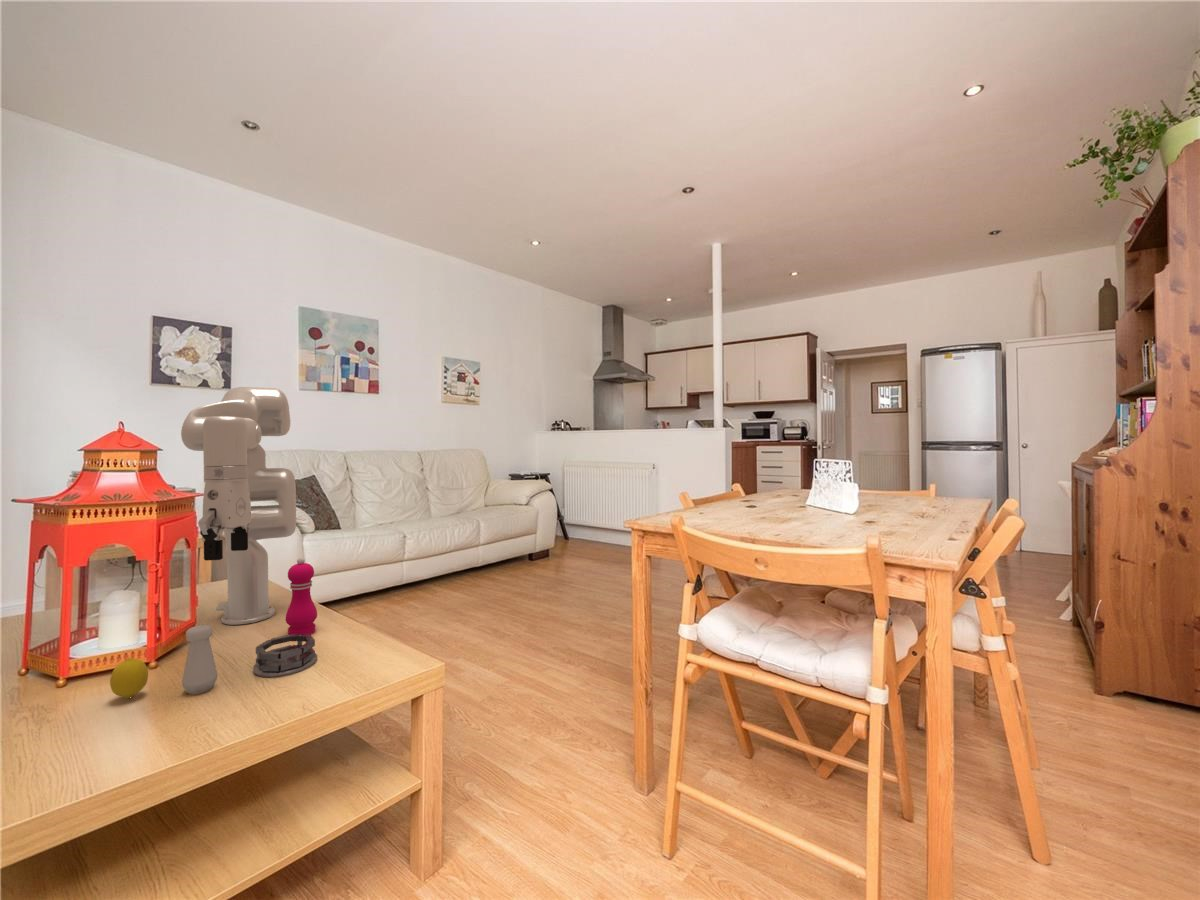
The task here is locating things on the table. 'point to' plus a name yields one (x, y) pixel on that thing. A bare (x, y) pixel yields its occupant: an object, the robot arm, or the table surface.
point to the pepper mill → (301, 599)
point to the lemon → (129, 677)
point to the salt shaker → (199, 661)
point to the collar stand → (285, 656)
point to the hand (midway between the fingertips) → (227, 554)
